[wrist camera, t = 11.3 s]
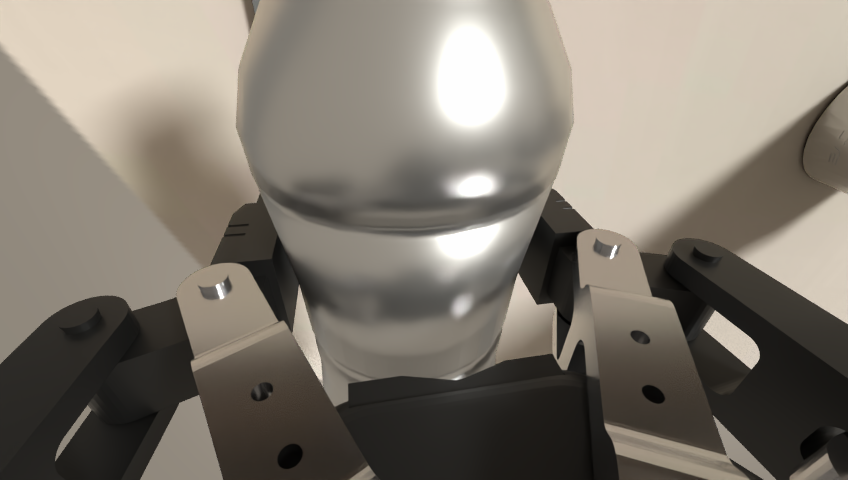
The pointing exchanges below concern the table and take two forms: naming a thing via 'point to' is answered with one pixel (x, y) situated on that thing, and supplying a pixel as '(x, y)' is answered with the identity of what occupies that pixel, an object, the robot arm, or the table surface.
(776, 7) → the table surface
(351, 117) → the plastic bottle
